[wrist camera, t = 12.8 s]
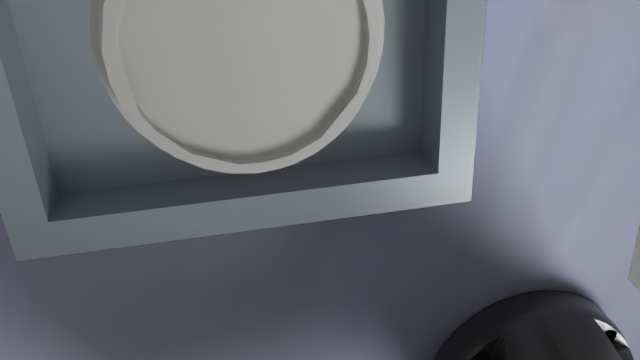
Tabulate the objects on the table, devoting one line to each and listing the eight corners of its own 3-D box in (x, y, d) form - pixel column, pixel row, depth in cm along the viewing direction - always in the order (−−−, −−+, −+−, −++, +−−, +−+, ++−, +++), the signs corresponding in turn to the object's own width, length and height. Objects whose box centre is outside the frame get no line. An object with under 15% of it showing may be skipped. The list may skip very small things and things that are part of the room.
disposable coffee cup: (145, -159, 26) (115, -177, 16) (350, -85, 29) (440, -59, 18) (106, 53, 30) (60, 153, 19) (292, 100, 33) (339, 210, 22)
